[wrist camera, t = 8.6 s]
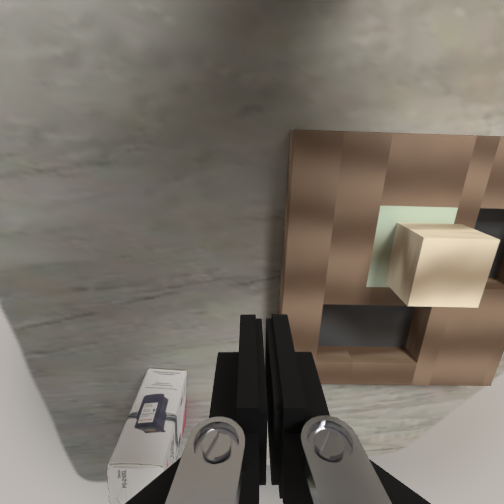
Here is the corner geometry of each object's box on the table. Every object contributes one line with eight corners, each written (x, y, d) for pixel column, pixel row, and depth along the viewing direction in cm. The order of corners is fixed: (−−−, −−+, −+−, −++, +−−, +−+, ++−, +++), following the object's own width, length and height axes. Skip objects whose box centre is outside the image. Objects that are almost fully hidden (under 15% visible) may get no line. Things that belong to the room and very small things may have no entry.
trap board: (290, 130, 28) (295, 129, 25) (550, 138, 29) (583, 139, 26) (274, 364, 37) (277, 383, 34) (472, 367, 38) (490, 385, 35)
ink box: (186, 422, 40) (164, 531, 29) (147, 420, 40) (110, 529, 29) (188, 369, 37) (164, 468, 26) (146, 366, 37) (103, 465, 26)
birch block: (397, 222, 28) (423, 237, 24) (462, 224, 28) (500, 239, 24) (385, 282, 30) (407, 306, 26) (445, 283, 30) (478, 307, 26)
